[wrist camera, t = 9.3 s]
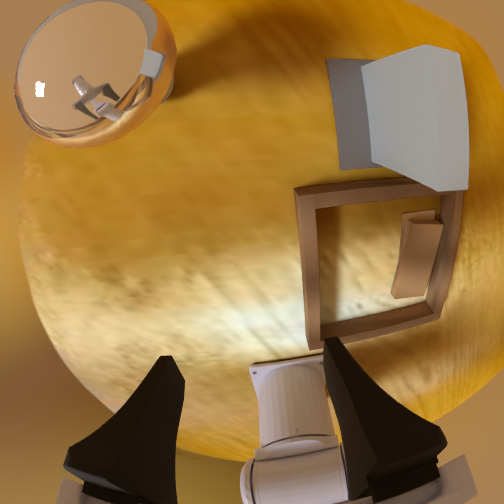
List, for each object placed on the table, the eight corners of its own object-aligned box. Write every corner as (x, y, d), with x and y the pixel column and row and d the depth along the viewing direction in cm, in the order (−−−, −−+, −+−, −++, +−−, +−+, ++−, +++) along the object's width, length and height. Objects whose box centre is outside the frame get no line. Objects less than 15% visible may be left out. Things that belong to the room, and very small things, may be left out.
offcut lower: (419, 282, 24) (424, 287, 23) (390, 288, 24) (394, 294, 23) (429, 206, 20) (435, 209, 19) (397, 209, 20) (403, 213, 19)
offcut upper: (418, 289, 23) (423, 295, 22) (390, 292, 23) (394, 299, 22) (437, 220, 20) (443, 224, 19) (407, 219, 20) (413, 223, 19)
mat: (420, 164, 18) (422, 165, 17) (340, 169, 18) (341, 169, 18) (411, 65, 14) (413, 65, 14) (325, 59, 14) (326, 58, 14)
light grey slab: (397, 160, 17) (467, 189, 10) (371, 161, 17) (437, 191, 10) (387, 68, 14) (459, 53, 7) (360, 66, 14) (425, 44, 7)
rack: (430, 307, 24) (439, 318, 22) (305, 335, 25) (309, 350, 23) (450, 175, 18) (464, 181, 16) (293, 188, 19) (298, 196, 17)
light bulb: (179, 24, 13) (101, -63, 2) (224, 100, 16) (183, 65, 5) (98, 79, 14) (-29, 70, 4) (138, 152, 17) (19, 205, 7)
